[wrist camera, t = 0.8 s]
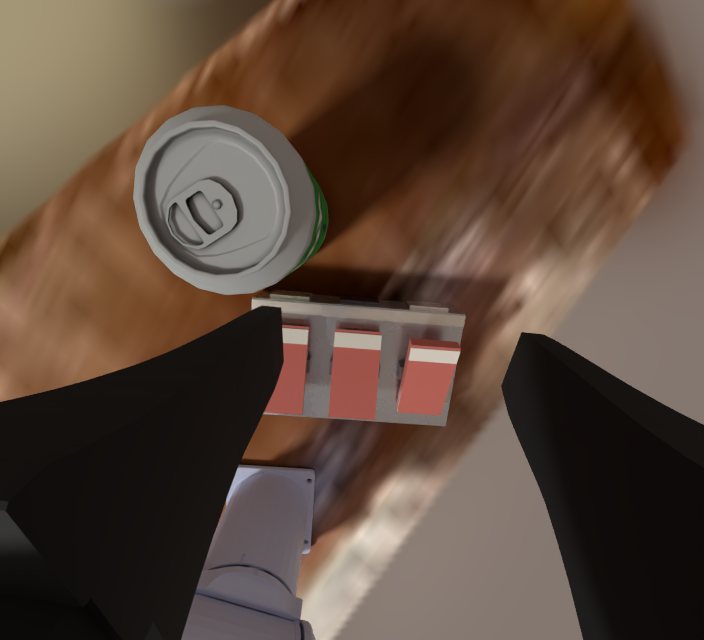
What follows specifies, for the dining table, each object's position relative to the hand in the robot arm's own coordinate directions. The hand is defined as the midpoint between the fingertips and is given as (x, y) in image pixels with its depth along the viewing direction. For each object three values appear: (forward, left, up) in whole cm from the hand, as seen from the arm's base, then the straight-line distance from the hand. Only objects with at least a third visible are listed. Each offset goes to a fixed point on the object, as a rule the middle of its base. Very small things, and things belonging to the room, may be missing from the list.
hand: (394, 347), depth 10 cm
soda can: (+4, +7, -16) cm, 18 cm away
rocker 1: (-6, +6, -11) cm, 14 cm away
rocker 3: (-6, -4, -11) cm, 14 cm away
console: (-6, +1, -16) cm, 17 cm away
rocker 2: (-6, +1, -11) cm, 13 cm away
